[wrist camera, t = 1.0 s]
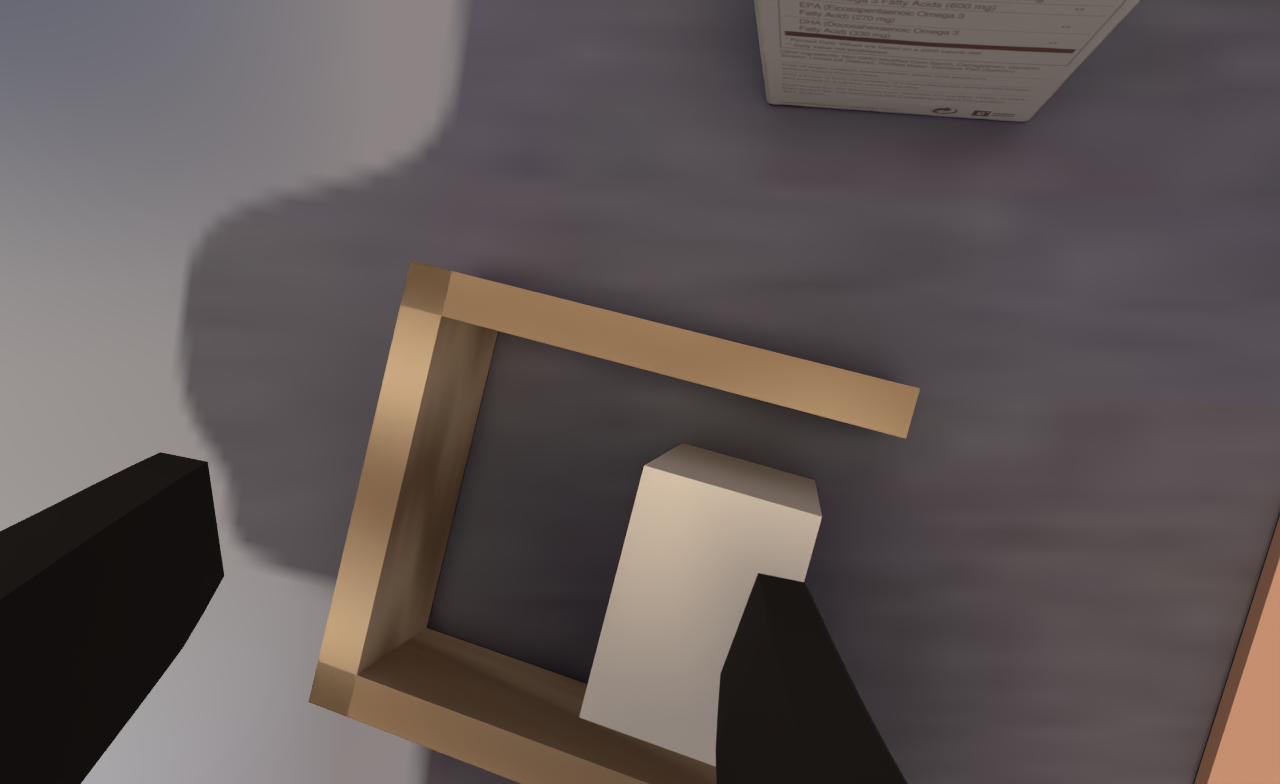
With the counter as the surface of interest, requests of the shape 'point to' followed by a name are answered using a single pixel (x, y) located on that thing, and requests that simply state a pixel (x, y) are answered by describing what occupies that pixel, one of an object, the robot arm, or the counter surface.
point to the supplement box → (928, 53)
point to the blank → (692, 590)
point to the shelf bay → (424, 508)
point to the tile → (1251, 694)
